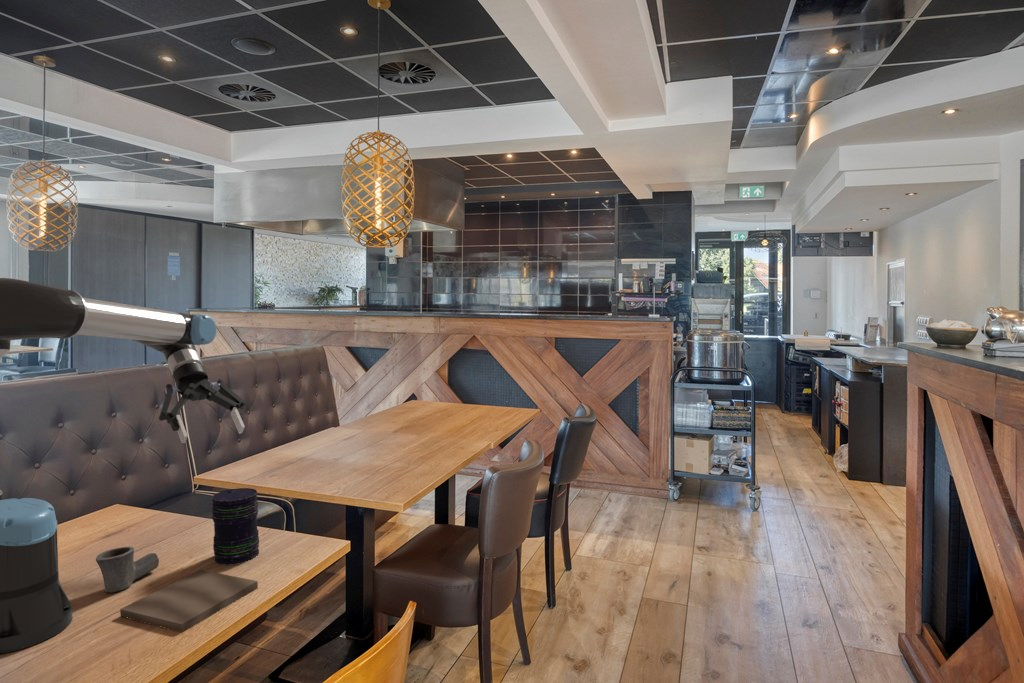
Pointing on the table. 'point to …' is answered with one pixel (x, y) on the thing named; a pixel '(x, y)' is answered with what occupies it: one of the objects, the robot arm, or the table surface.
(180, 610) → the walnut serving board
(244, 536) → the navy cylinder
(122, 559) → the pipe
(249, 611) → the table surface
